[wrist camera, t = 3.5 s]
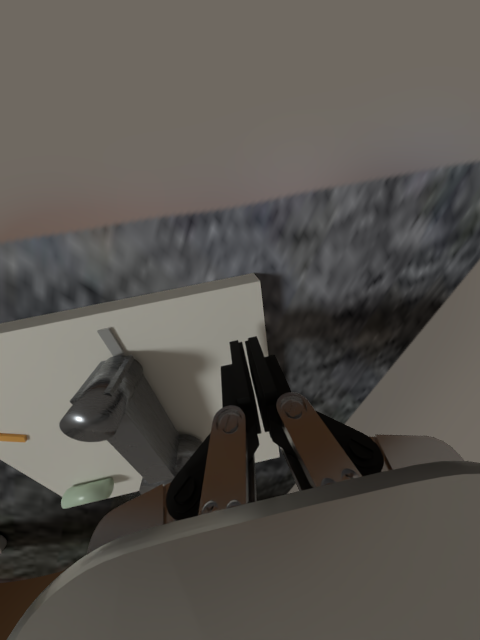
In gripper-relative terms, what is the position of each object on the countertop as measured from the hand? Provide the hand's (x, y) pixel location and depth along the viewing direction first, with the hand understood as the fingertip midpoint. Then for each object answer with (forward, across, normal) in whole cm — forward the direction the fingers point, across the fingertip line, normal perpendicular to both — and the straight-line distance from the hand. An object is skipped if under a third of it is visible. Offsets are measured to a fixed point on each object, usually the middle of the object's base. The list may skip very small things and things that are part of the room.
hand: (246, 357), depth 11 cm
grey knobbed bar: (+2, +8, +6) cm, 10 cm away
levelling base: (+4, +10, +7) cm, 13 cm away
